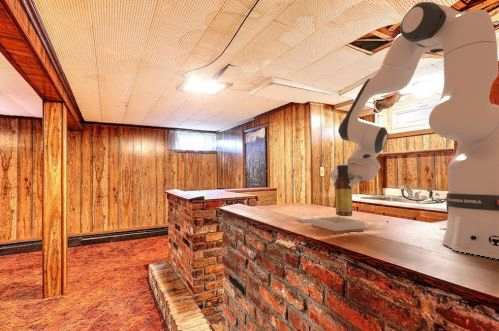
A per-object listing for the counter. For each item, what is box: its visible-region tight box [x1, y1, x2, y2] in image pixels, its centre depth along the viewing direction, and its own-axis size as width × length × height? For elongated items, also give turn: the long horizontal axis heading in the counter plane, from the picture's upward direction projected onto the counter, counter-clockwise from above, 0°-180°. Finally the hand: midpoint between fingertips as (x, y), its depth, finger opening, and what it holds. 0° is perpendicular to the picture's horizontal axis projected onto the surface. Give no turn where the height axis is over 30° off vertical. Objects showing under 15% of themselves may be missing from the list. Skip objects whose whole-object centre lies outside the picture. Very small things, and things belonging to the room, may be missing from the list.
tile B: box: [296, 216, 312, 223], centre depth 98 cm, size 5×5×1 cm
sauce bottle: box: [334, 164, 353, 217], centre depth 99 cm, size 6×6×20 cm
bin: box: [311, 216, 365, 236], centre depth 87 cm, size 12×13×4 cm
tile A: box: [310, 215, 325, 218], centre depth 100 cm, size 5×5×1 cm
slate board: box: [291, 218, 312, 224], centre depth 100 cm, size 10×12×1 cm
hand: (342, 186), depth 99 cm, fingers closed on sauce bottle, 6 cm apart
